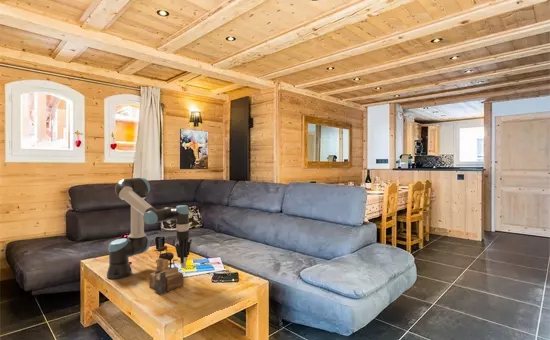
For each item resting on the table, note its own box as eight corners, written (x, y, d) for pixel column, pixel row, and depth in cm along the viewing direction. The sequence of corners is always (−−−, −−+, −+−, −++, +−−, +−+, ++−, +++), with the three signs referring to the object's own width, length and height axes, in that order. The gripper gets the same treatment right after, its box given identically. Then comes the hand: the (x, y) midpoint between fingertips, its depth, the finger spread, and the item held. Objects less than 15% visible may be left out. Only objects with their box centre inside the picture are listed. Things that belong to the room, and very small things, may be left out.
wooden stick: (155, 279, 180) (155, 274, 180) (174, 271, 192) (174, 266, 192) (159, 280, 178) (159, 275, 178) (178, 272, 190) (178, 267, 190)
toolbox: (144, 289, 186) (143, 269, 186) (165, 280, 199) (165, 261, 199) (162, 295, 178) (162, 273, 177) (183, 285, 191) (182, 265, 191)
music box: (157, 279, 201) (156, 248, 202) (153, 276, 210) (151, 246, 211) (181, 274, 210) (179, 244, 211) (176, 271, 219) (174, 242, 220)
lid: (149, 275, 189) (149, 260, 189) (164, 270, 199) (164, 255, 198) (168, 280, 181) (167, 265, 181) (182, 274, 191) (182, 259, 190)
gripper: (179, 233, 188) (180, 272, 188) (194, 228, 199) (195, 265, 200) (170, 231, 191) (171, 269, 192) (186, 227, 203) (187, 263, 203)
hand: (183, 267), depth 196 cm, fingers closed
